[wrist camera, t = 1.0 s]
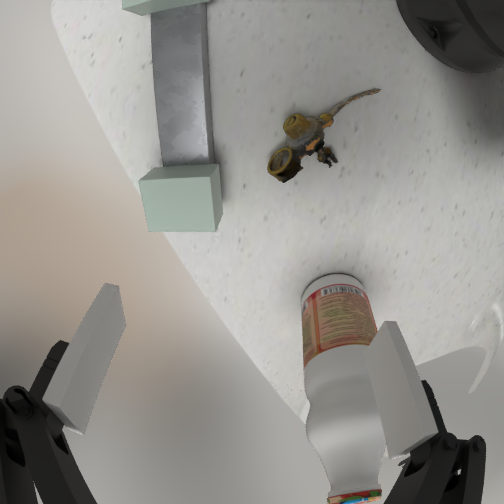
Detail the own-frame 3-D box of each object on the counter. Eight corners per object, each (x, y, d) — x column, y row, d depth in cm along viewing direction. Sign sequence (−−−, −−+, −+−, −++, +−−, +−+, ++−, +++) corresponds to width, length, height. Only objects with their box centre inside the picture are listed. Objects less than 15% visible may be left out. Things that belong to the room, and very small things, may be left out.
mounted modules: (209, -41, 15) (199, -56, 11) (222, 213, 30) (215, 231, 27) (142, -26, 15) (124, -36, 12) (162, 213, 31) (149, 231, 27)
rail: (205, -31, 17) (199, -39, 15) (218, 203, 32) (213, 213, 30) (160, -22, 17) (151, -28, 15) (177, 204, 33) (170, 213, 31)
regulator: (356, 62, 22) (245, 145, 27) (379, 68, 20) (255, 160, 24) (383, 115, 27) (286, 190, 31) (405, 126, 24) (299, 209, 29)
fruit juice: (343, 259, 35) (386, 494, 12) (376, 299, 38) (417, 490, 15) (287, 295, 39) (279, 508, 16) (324, 328, 42) (334, 509, 19)
